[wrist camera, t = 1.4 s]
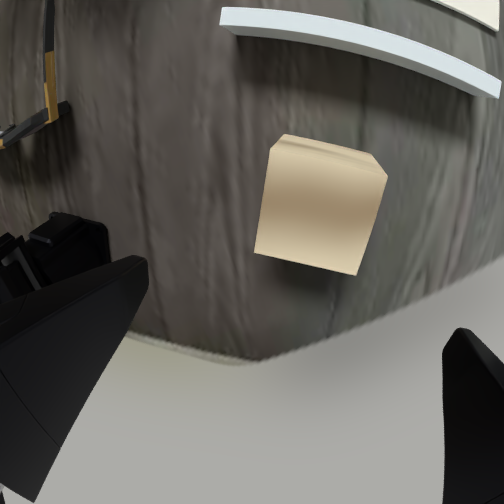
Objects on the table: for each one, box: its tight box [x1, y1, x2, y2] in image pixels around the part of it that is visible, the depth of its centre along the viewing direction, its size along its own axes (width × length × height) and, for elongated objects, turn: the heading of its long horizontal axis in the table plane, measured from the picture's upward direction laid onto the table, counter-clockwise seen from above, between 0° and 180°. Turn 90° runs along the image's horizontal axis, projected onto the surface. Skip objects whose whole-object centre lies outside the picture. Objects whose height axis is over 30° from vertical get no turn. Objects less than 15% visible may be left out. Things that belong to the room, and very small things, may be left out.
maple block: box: [254, 134, 388, 276], centre depth 15 cm, size 5×5×5 cm
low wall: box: [220, 7, 501, 99], centre depth 12 cm, size 1×14×3 cm, turn 82°
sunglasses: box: [0, 0, 70, 150], centre depth 14 cm, size 14×15×5 cm
